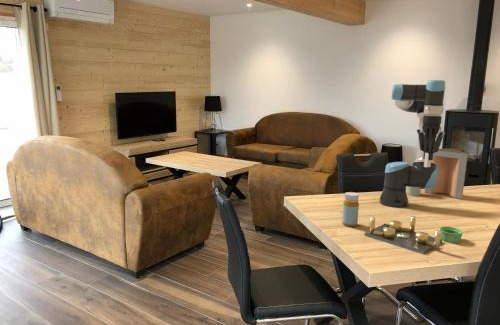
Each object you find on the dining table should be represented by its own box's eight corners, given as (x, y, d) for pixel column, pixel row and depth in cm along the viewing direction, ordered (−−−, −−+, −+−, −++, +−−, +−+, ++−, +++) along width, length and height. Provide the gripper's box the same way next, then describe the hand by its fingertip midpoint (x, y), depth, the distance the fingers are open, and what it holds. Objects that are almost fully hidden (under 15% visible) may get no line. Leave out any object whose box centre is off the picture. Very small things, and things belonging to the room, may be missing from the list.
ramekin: (451, 245, 163) (453, 235, 162) (433, 237, 171) (434, 227, 170) (466, 242, 167) (467, 232, 166) (448, 234, 175) (449, 225, 174)
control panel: (364, 235, 172) (364, 231, 172) (384, 225, 184) (385, 221, 184) (423, 254, 153) (424, 249, 153) (442, 242, 166) (442, 237, 165)
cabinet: (424, 192, 244) (429, 148, 238) (430, 190, 251) (434, 146, 245) (461, 199, 230) (467, 152, 224) (465, 196, 237) (471, 150, 231)
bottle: (348, 228, 181) (351, 196, 178) (338, 223, 187) (340, 192, 184) (360, 225, 184) (362, 194, 181) (350, 221, 190) (352, 191, 187)
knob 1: (395, 234, 169) (396, 220, 168) (393, 238, 165) (395, 223, 163) (370, 230, 174) (371, 216, 172) (368, 234, 169) (369, 219, 168)
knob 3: (412, 239, 164) (413, 224, 162) (420, 237, 166) (421, 223, 165) (434, 249, 155) (436, 233, 153) (442, 246, 157) (444, 231, 156)
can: (401, 193, 241) (403, 174, 239) (408, 191, 247) (410, 172, 245) (416, 196, 234) (418, 177, 232) (423, 194, 241) (425, 175, 238)
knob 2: (389, 229, 175) (390, 215, 174) (389, 226, 179) (390, 212, 178) (414, 233, 171) (416, 219, 170) (414, 229, 175) (415, 215, 174)
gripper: (414, 114, 179) (409, 165, 184) (440, 116, 168) (435, 170, 173) (424, 114, 183) (419, 163, 188) (451, 116, 172) (445, 168, 177)
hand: (427, 166), depth 180 cm, fingers closed
